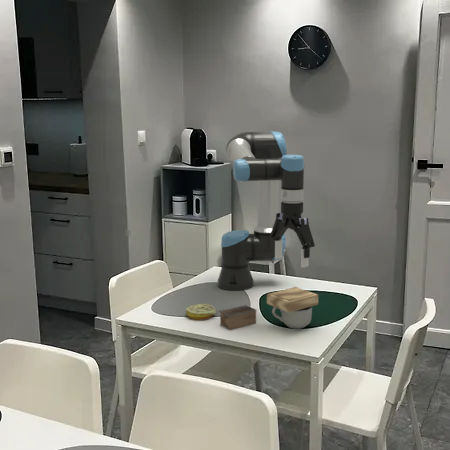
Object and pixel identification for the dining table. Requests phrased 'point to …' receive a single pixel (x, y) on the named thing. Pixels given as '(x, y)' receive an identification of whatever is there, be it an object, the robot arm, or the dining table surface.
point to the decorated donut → (200, 311)
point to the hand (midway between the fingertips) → (291, 262)
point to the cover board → (292, 299)
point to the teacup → (295, 317)
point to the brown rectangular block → (238, 317)
